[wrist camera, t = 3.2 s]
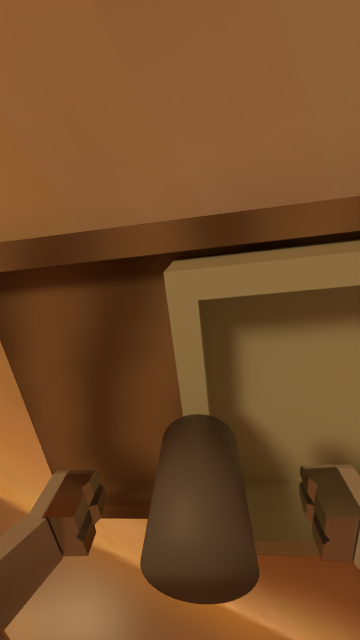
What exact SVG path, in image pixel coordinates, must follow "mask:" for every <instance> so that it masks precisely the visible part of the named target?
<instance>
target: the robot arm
mask: <svg viewBox="0 0 360 640" xmlns="http://www.w3.org/2000/svg"><path fill="white" fill-rule="evenodd" d="M300 476H301V478H302V482H301V483H300V484H299V494H300V500H301V504H302V508H303V511H304V514H305V516H306V518H307V519H308V520H309V521H310V522H311V523H312V524H313V526H312V535H313V538H314V541H315V543H316V546H317V549H318V551H319V554H320V557H321V559H322V560H330V561H350V562H354V563H353V564H354V565H355V566H356V567H357V568H358V569H359V570H360V476H359V474H358V473H357V471H356V470H355V468H354V467H353V466H352V465H304V466H301V468H300ZM100 479H101V475H100V472H99V471H98V470H57V471H56V472H55V473H54V474H53V475H52V477H51V479H50V480H49V482H48V483H47V485H46V487H45V488H44V490H43V492H42V493H41V495H40V497H39V498H38V500H37V502H36V503H35V505H34V507H33V508H32V510H31V511H30V513H29V515H28V517H27V518H22V519H21V520H20V521H18V522H17V523H16V524H15V525H14V526H12V527H11V528H10V529H9V530H8V531H6V532H5V533H4V534H3V535H2V536H0V640H10V639H9V637H8V636H7V634H6V633H5V631H4V630H5V628H6V627H7V626H8V625H9V623H10V622H11V621H12V620H13V618H14V617H15V616H16V615H17V614H18V612H19V611H20V610H21V609H22V608H23V606H24V605H25V604H26V603H27V601H28V600H29V599H30V598H31V597H32V595H33V594H34V593H35V592H36V590H37V589H38V588H39V587H40V586H41V584H42V583H43V582H44V581H45V579H46V578H47V577H48V575H49V574H50V573H51V572H52V571H53V570H54V568H55V567H56V566H57V565H58V564H59V562H60V561H61V560H62V559H63V557H62V556H88V554H89V551H90V548H91V546H92V543H93V540H94V537H95V534H96V529H95V524H96V522H97V521H98V520H99V519H100V518H101V517H102V514H103V511H104V507H105V500H106V494H105V488H104V486H103V485H102V484H101V483H99V482H100Z"/></svg>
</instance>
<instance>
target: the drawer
mask: <svg viewBox="0 0 360 640" xmlns="http://www.w3.org/2000/svg"><path fill="white" fill-rule="evenodd" d="M163 274H164V281H165V288H166V296H167V303H168V310H169V317H170V325H171V332H172V339H173V346H174V354H175V361H176V368H177V376H178V383H179V390H180V397H181V405H182V412H183V417H181V418H179V419H177V420H175V421H174V422H172V423H171V424H170V425H169V426H168V427H167V429H166V430H165V432H164V435H163V439H162V445H161V451H160V456H159V462H158V467H157V473H156V478H155V484H154V489H153V495H152V500H151V506H150V511H149V517H148V522H147V528H146V533H145V539H144V544H143V550H142V555H141V563H140V565H141V570H142V573H143V575H144V577H145V578H146V579H147V581H148V582H149V583H150V584H151V585H152V586H153V587H155V588H156V589H157V590H159V591H160V592H162V593H163V594H166V595H167V596H170V597H172V598H175V599H178V600H181V601H185V602H189V603H196V604H220V603H226V602H230V601H233V600H236V599H238V598H240V597H243V596H244V595H246V594H247V593H248V592H250V591H251V590H252V589H253V588H254V586H255V585H256V583H257V581H258V578H259V568H258V562H257V556H256V555H294V556H320V554H319V551H318V549H317V546H316V543H315V541H314V538H313V535H312V526H313V524H312V523H311V522H310V521H309V520H308V519H307V518H306V516H305V514H304V511H303V508H302V504H301V500H300V494H299V484H300V483H301V482H302V478H301V476H300V468H301V466H304V465H352V466H353V467H354V468H355V470H356V471H357V473H358V474H359V476H360V238H356V239H348V240H339V241H330V242H321V243H312V244H303V245H294V246H285V247H276V248H267V249H258V250H249V251H240V252H231V253H222V254H213V255H204V256H196V257H187V258H178V259H175V260H174V261H173V262H172V263H171V264H170V265H169V267H168V268H167V269H166V270H165V271H164V272H163Z"/></svg>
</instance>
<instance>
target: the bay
mask: <svg viewBox="0 0 360 640" xmlns="http://www.w3.org/2000/svg"><path fill="white" fill-rule="evenodd" d="M356 238H360V196H356V197H349V198H341V199H333V200H325V201H318V202H310V203H302V204H295V205H287V206H279V207H271V208H264V209H256V210H248V211H240V212H233V213H225V214H217V215H209V216H202V217H194V218H186V219H179V220H171V221H163V222H155V223H148V224H140V225H132V226H124V227H117V228H109V229H101V230H93V231H86V232H78V233H70V234H63V235H55V236H47V237H39V238H32V239H24V240H16V241H8V242H1V243H0V341H1V343H2V346H3V348H4V351H5V354H6V356H7V359H8V361H9V364H10V367H11V369H12V372H13V374H14V377H15V380H16V382H17V385H18V387H19V390H20V393H21V395H22V398H23V400H24V403H25V406H26V408H27V411H28V413H29V416H30V419H31V421H32V424H33V426H34V429H35V432H36V434H37V437H38V439H39V442H40V445H41V447H42V450H43V452H44V455H45V458H46V460H47V463H48V465H49V468H50V470H51V473H52V475H53V474H54V473H55V472H56V471H57V470H98V471H99V472H100V475H101V479H100V482H99V483H101V484H102V485H103V486H104V488H105V494H106V500H105V507H104V511H103V514H102V517H101V518H124V519H148V517H149V511H150V506H151V500H152V495H153V489H154V484H155V478H156V473H157V467H158V462H159V456H160V451H161V445H162V439H163V435H164V432H165V430H166V429H167V427H168V426H169V425H170V424H171V423H172V422H174V421H175V420H177V419H179V418H181V417H183V412H182V405H181V397H180V390H179V383H178V376H177V368H176V361H175V354H174V346H173V339H172V332H171V325H170V317H169V310H168V303H167V296H166V288H165V281H164V274H163V272H164V271H165V270H166V269H167V268H168V267H169V265H170V264H171V263H172V262H173V261H174V260H175V259H178V258H187V257H196V256H204V255H213V254H222V253H231V252H240V251H249V250H258V249H267V248H276V247H285V246H294V245H303V244H312V243H321V242H330V241H339V240H348V239H356Z"/></svg>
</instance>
